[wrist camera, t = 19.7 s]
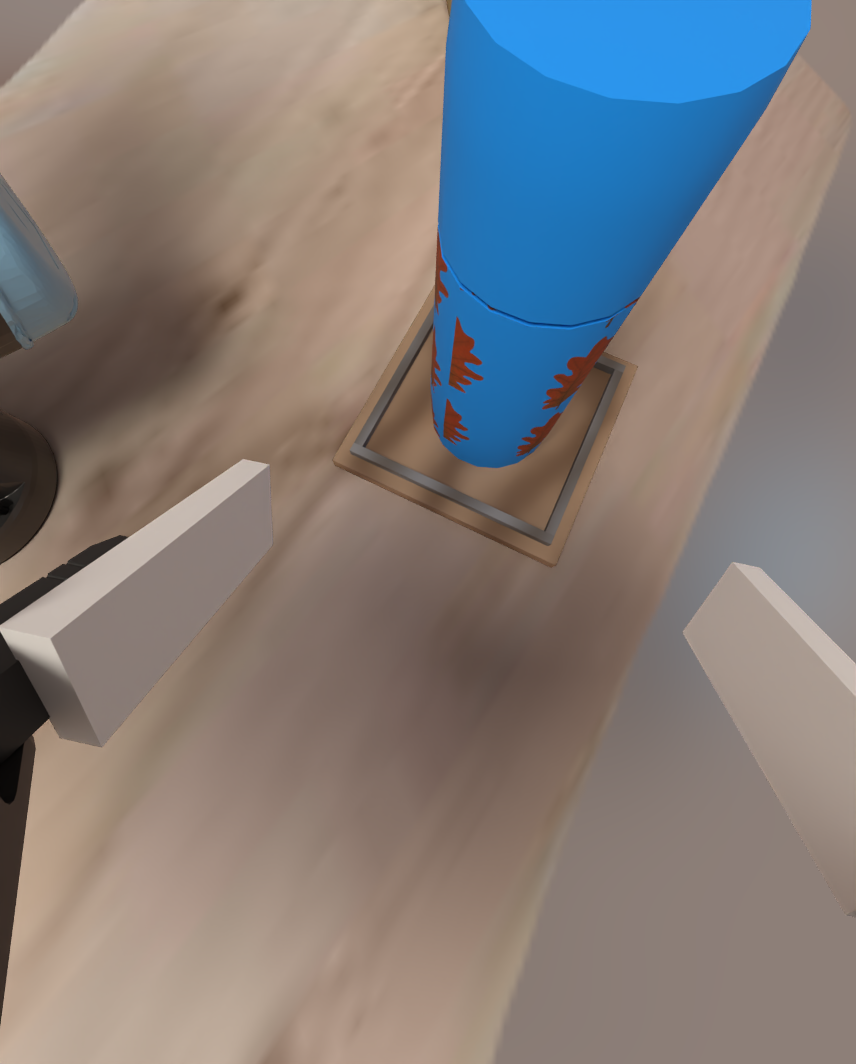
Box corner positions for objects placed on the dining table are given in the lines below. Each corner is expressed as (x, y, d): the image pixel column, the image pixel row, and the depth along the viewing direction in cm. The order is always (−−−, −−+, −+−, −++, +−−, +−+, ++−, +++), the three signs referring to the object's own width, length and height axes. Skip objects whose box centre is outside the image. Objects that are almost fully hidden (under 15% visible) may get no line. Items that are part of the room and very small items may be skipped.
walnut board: (335, 465, 36) (330, 456, 34) (436, 291, 40) (437, 274, 38) (551, 567, 34) (559, 563, 32) (631, 374, 39) (642, 360, 37)
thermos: (549, 366, 37) (793, -120, 13) (549, 474, 35) (850, 122, 10) (433, 358, 37) (459, -147, 13) (425, 465, 35) (437, 90, 10)
